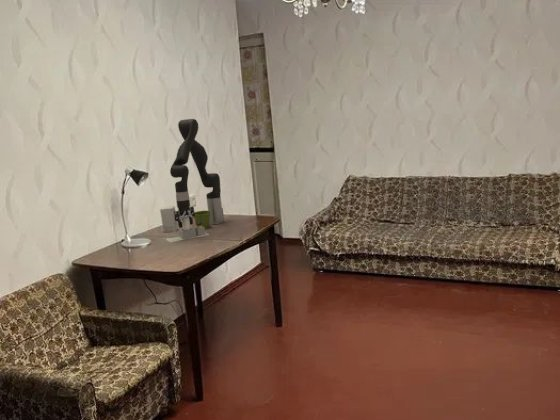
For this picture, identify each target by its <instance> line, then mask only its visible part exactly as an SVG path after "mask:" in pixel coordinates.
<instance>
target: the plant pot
mask: <svg viewBox="0 0 560 420" xmlns="http://www.w3.org/2000/svg"><path fill="white" fill-rule="evenodd" d="M194 212H195V216H194V217H193V219H194V221H195V222H194V223H195V224H196V223H198V222H203V224H202V227H205V229H207V228H208V229H209V228H210V213H211V211H208V210H198V211H194ZM192 214H193V213H192Z"/></svg>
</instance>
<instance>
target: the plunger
mask: <svg viewBox="0 0 560 420" xmlns="http://www.w3.org/2000/svg"><path fill="white" fill-rule="evenodd" d="M202 224H203V222H198V223H196V222H195V226H196V228H197V229H201V228H202Z"/></svg>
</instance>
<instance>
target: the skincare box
mask: <svg viewBox="0 0 560 420" xmlns="http://www.w3.org/2000/svg"><path fill="white" fill-rule="evenodd" d="M159 211H160V217H161V223H162V229H163V233H164V234H165V233H173V232H174V233H176V232H177V231H179V226H178V221H175V215H174V211H176V206H164V207H162V208H160V209H159Z"/></svg>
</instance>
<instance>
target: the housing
mask: <svg viewBox="0 0 560 420" xmlns="http://www.w3.org/2000/svg"><path fill="white" fill-rule="evenodd" d="M190 229H191V230H187V231H183V228H178V233H179V236H175V237H169V238H166V239H165V240H166V241H167V242H168V243H173V242H179V241H184V240H185V241H186V240H190V239H194V238H200V237H206V236H210V234H209V233H208V232H206V228H205V227H202V228H201V229H197V227H195V228H193V227H191V226H190Z"/></svg>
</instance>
